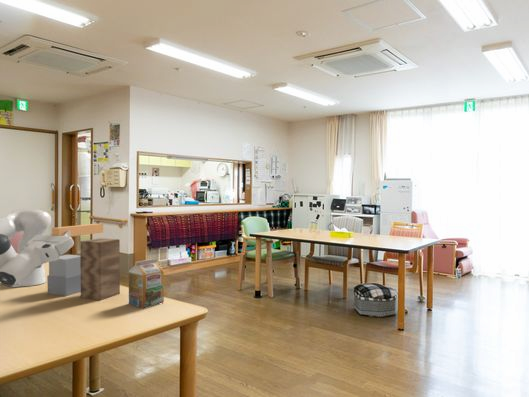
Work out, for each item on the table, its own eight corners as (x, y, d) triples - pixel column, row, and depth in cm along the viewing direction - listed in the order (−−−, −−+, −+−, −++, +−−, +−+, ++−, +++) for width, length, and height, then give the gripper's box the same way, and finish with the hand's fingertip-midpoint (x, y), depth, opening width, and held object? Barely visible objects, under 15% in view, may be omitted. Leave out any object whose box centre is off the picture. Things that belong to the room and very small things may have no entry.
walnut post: (80, 297, 184) (80, 241, 184) (100, 291, 196) (100, 238, 195) (100, 300, 180) (100, 242, 179) (119, 293, 191) (119, 239, 190)
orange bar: (52, 237, 165) (51, 227, 165) (96, 231, 188) (96, 223, 187) (59, 238, 164) (58, 228, 164) (103, 232, 186) (103, 223, 186)
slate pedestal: (47, 293, 191) (47, 258, 191) (68, 287, 202) (68, 254, 202) (66, 296, 187) (65, 259, 186) (86, 290, 198) (86, 255, 197)
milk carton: (149, 298, 183) (149, 257, 182) (163, 303, 176) (163, 260, 176) (128, 303, 175) (128, 260, 174) (142, 308, 168) (142, 263, 167)
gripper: (24, 256, 163) (49, 236, 174) (60, 260, 155) (85, 239, 166) (16, 244, 160) (43, 224, 171) (53, 247, 152) (79, 226, 163)
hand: (64, 232), depth 168 cm, fingers closed on orange bar, 4 cm apart
